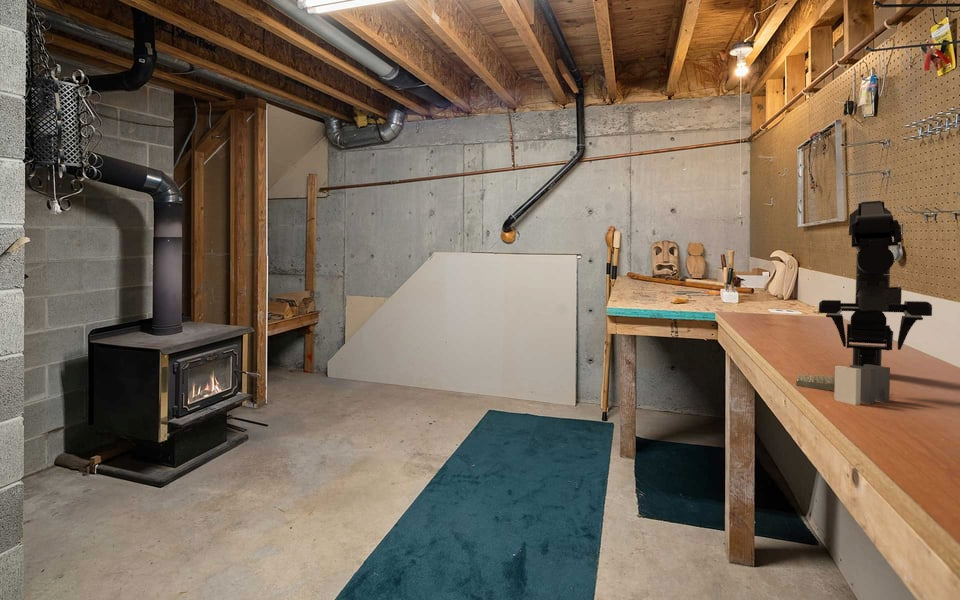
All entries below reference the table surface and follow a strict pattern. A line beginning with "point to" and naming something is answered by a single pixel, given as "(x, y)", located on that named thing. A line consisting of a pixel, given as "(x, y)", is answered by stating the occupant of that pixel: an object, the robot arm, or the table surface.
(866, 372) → the domino
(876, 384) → the domino
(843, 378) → the end domino
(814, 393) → the table surface
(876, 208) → the robot arm
